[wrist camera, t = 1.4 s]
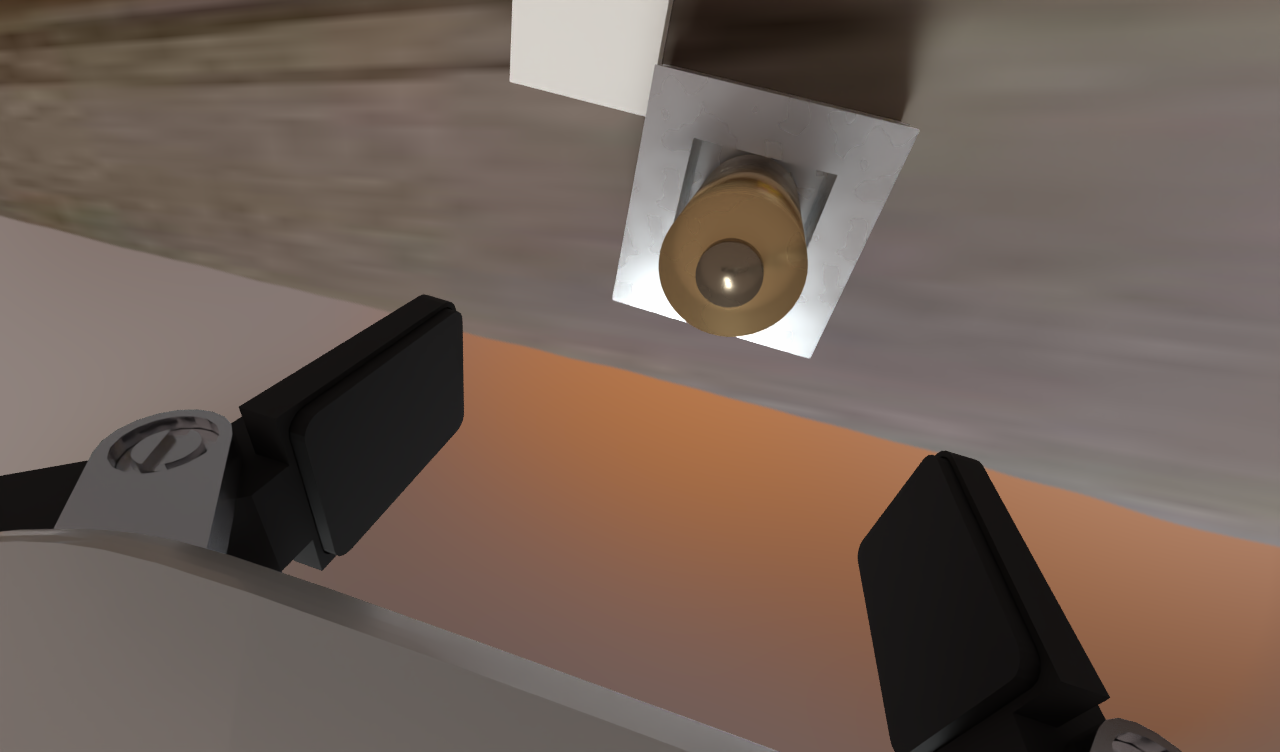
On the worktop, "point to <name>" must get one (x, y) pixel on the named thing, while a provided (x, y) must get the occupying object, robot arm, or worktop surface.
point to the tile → (590, 48)
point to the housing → (785, 132)
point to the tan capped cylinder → (737, 250)
